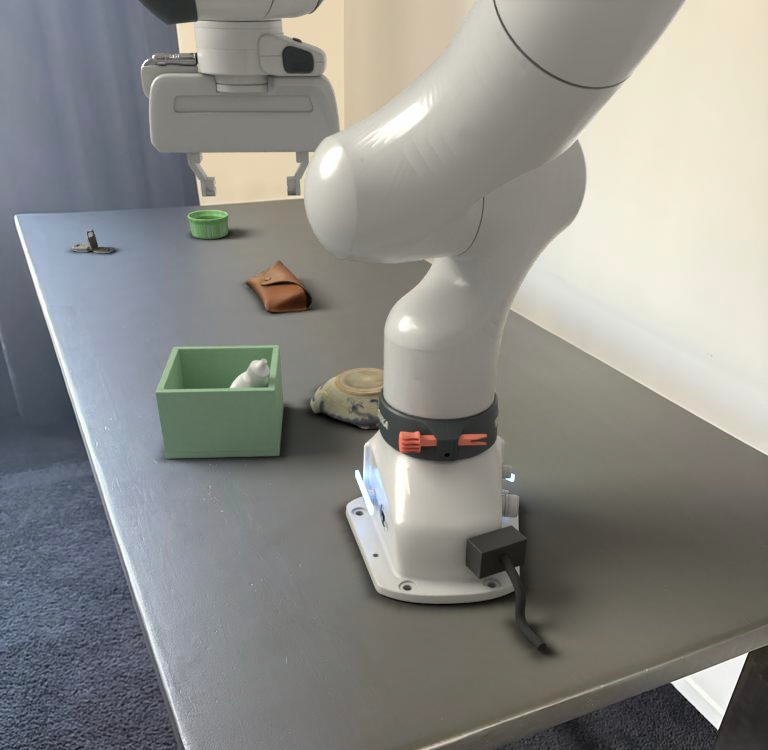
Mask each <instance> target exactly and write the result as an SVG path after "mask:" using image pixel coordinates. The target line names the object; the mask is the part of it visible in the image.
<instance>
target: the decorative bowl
mask: <svg viewBox="0 0 768 750" xmlns="http://www.w3.org/2000/svg"><path fill="white" fill-rule="evenodd" d="M383 380H384V369H381V368H375V367H355V368H351V369H348V370H345V371H342V372H341V373H339V374H338V375H336V376H333V377H331V378H330V379H328V380H326V381H325V382H324V383H322V385H320V386H319V387H318V388H317V389H316V391H315V392H314V394H313V395H312V396H311V399H310V404H309V405H310V408H311V410H312V412H313V414H314V415H315V414H316V415H317V414H324V415H326V416H329V417H330V418H332V419H334V420H338V421H340V422H344V423H348V424H351V425H354V426H357V427H358V428H360V429H363V430H372V429H373V430H376V429H379V426H378V402H379V394H380V391H381V389H382V388H383Z"/></svg>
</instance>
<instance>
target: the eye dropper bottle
mask: <svg viewBox="0 0 768 750" xmlns="http://www.w3.org/2000/svg"><path fill="white" fill-rule="evenodd" d="M269 373H270V370H269V367H268V366H267V360H266V359H265V358H263V359H261V360H255V361H252V362H251V364H250V366H249V367H248V369H247V371H246V372H244V373H242V374H241V375H239V376H238V377H237V378H236V379H235V380H234V382H233V383H232V385H231V386H230V388H268V384H269V379H268V375H269Z"/></svg>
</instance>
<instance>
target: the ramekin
mask: <svg viewBox="0 0 768 750" xmlns="http://www.w3.org/2000/svg"><path fill="white" fill-rule="evenodd" d="M229 215H230V214H229V213H228V211H227V212H226V211H224V210H219V209H202V210H195V211H191V212H189V213H188V214H187V216H186V217H187V220H188V222H189V227H190V232H191V235H192V236H193V237H194V238H197V239H200V240H216V239H221V238H223V237H226V236H228V234H229Z"/></svg>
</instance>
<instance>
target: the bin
mask: <svg viewBox="0 0 768 750" xmlns="http://www.w3.org/2000/svg"><path fill="white" fill-rule="evenodd" d="M280 349H281V346H280V345H279V344H274V345H273V344H272V345H271V344H269V345H268V344H267V345H208V346H207V345H205V346H204V345H200V346H173V347H172V350H171V352H170V355H169V356H168V358H167V362H166V365H165V367H164V369H163V373H162V375H161V377H160V380H159V382H158V385H157V387H156V389H155V392H154V393H155V400H156V407H157V413H158V418H159V424H160V429H161V430H160V431H161V435H162V441H163V442H162V443H163V448H164V453H165V458H166V459H167V460H168V459H170V460H171V459H172V460H173V459H204V458H207V459H211V458H214V459H215V458H251V457H252V458H253V457H254V458H255V457H279V456H280V452H281V440H282V439H281V438H282V427H283V417H284V393H283V391H284V390H283V378H282V375H283V374H282V362H281V350H280ZM263 358H265V359H266V360H267V366H268V367H269V370H270V373H269V375H268V379H269V384H268V388H230V386H231V385H232V383H233V382H234V380H235V379H236V378H237V377H238V376H239V375H241V374H242V373H244V372H246V371H247V369H248V367H249V366H250V364H251V362H252V361H255V360H261V359H263Z"/></svg>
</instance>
